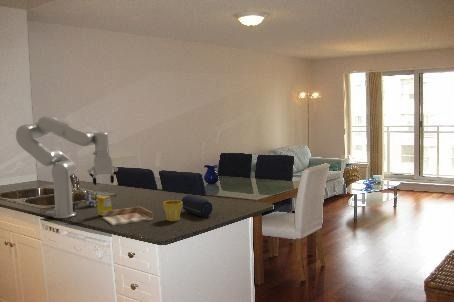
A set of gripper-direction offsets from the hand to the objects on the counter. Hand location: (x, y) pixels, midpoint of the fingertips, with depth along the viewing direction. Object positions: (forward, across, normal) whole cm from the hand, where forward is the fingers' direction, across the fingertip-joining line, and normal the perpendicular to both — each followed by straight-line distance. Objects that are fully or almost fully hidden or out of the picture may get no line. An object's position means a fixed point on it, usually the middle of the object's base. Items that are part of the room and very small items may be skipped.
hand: (103, 183), depth 256 cm
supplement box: (+19, 0, 0) cm, 19 cm away
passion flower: (+19, +1, +33) cm, 38 cm away
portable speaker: (+19, +45, -29) cm, 56 cm away
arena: (+18, +8, -17) cm, 26 cm away
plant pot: (+18, +28, -34) cm, 48 cm away
